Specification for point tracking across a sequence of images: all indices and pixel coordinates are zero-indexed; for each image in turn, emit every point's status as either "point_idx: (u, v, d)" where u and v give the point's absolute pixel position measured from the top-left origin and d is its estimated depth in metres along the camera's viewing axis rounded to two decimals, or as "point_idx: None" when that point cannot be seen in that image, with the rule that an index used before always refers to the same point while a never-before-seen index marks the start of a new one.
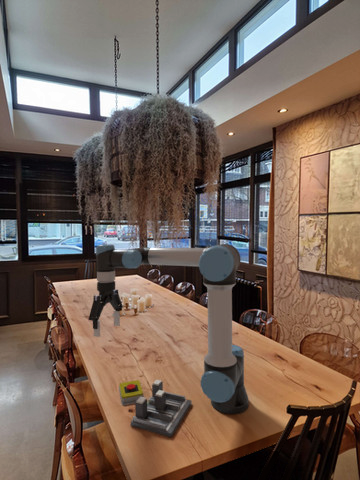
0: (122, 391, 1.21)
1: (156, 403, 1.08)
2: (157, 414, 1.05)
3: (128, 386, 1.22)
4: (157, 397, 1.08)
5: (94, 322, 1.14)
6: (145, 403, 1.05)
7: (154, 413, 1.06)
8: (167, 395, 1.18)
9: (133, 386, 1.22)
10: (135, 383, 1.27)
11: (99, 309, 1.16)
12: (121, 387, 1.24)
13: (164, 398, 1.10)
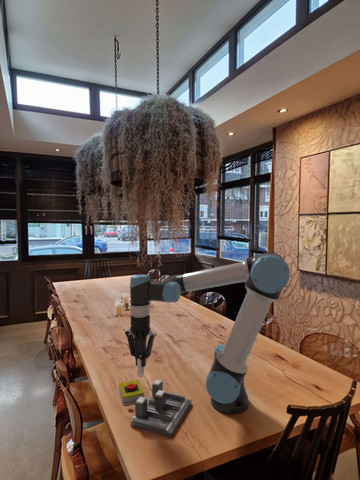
0: (122, 391, 1.21)
1: (156, 403, 1.08)
2: (157, 414, 1.05)
3: (128, 386, 1.23)
4: (157, 397, 1.08)
5: None
6: (145, 403, 1.05)
7: (154, 413, 1.06)
8: (167, 395, 1.18)
9: (133, 386, 1.23)
10: (135, 383, 1.27)
11: None
12: (121, 387, 1.24)
13: (164, 398, 1.10)
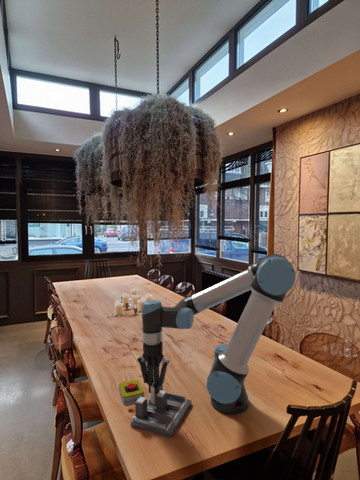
0: (123, 391, 1.21)
1: (157, 403, 1.08)
2: (157, 414, 1.05)
3: (128, 386, 1.23)
4: (158, 397, 1.08)
5: None
6: (145, 403, 1.05)
7: (154, 413, 1.06)
8: (167, 395, 1.18)
9: (133, 385, 1.23)
10: (135, 382, 1.27)
11: None
12: (121, 387, 1.24)
13: (165, 398, 1.09)
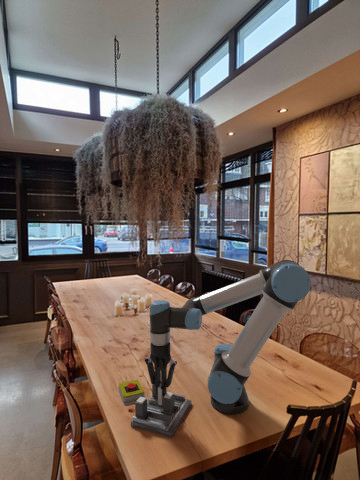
0: (123, 391, 1.21)
1: (165, 405, 1.07)
2: (157, 414, 1.05)
3: (128, 386, 1.23)
4: (166, 399, 1.07)
5: None
6: (145, 403, 1.05)
7: (154, 413, 1.06)
8: None
9: (133, 385, 1.23)
10: (134, 382, 1.28)
11: None
12: (121, 387, 1.24)
13: (173, 400, 1.08)
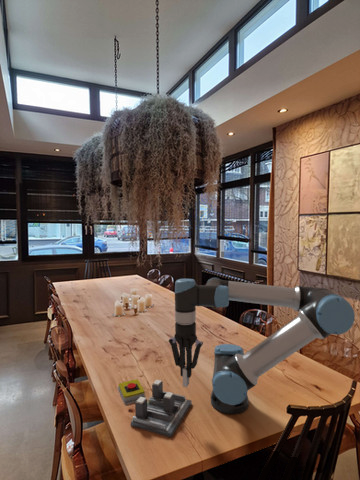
0: (123, 391, 1.21)
1: (165, 405, 1.07)
2: (157, 414, 1.05)
3: (129, 385, 1.23)
4: (166, 399, 1.07)
5: None
6: (145, 403, 1.05)
7: (154, 413, 1.06)
8: None
9: (134, 385, 1.23)
10: (134, 382, 1.28)
11: None
12: (121, 387, 1.24)
13: (173, 400, 1.08)
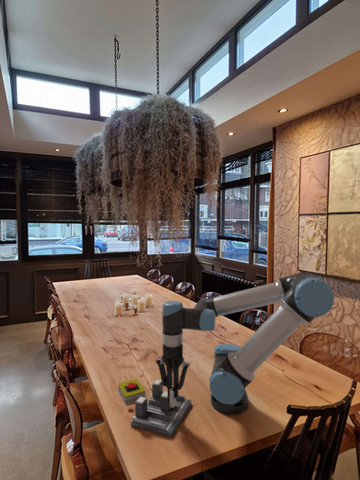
0: (123, 391, 1.21)
1: (162, 404, 1.07)
2: (157, 414, 1.05)
3: (129, 385, 1.23)
4: (163, 398, 1.07)
5: None
6: (145, 403, 1.05)
7: (154, 413, 1.06)
8: None
9: (134, 385, 1.23)
10: (134, 382, 1.28)
11: None
12: (121, 387, 1.24)
13: None
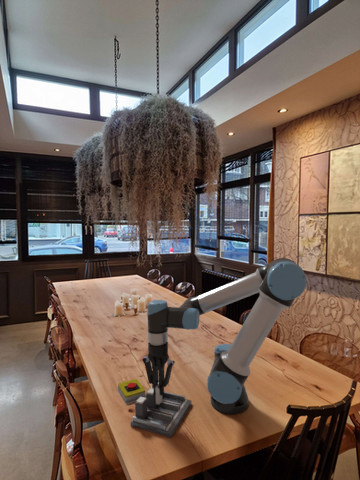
0: (124, 390, 1.21)
1: (148, 401, 1.10)
2: (157, 414, 1.05)
3: (129, 385, 1.23)
4: (149, 395, 1.09)
5: None
6: (145, 403, 1.05)
7: (154, 413, 1.06)
8: (167, 395, 1.18)
9: (134, 384, 1.24)
10: (134, 382, 1.28)
11: None
12: (121, 387, 1.24)
13: None
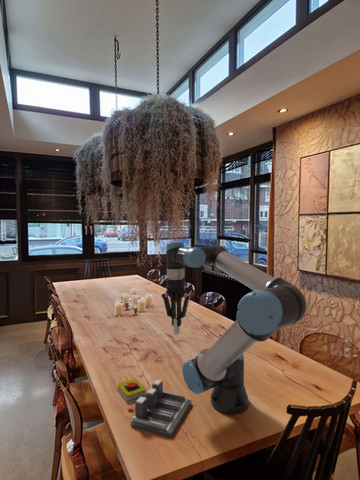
0: (124, 390, 1.21)
1: (148, 401, 1.10)
2: (157, 414, 1.05)
3: (129, 385, 1.23)
4: (149, 395, 1.09)
5: None
6: (145, 403, 1.05)
7: (154, 413, 1.06)
8: (167, 395, 1.18)
9: (134, 384, 1.24)
10: (133, 381, 1.28)
11: None
12: (121, 387, 1.24)
13: (156, 396, 1.11)
